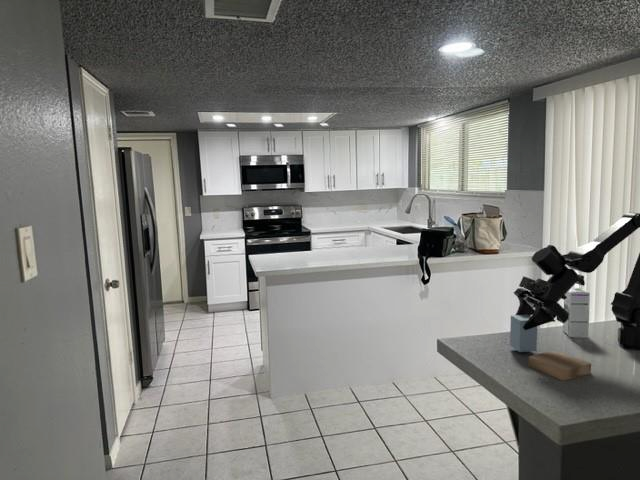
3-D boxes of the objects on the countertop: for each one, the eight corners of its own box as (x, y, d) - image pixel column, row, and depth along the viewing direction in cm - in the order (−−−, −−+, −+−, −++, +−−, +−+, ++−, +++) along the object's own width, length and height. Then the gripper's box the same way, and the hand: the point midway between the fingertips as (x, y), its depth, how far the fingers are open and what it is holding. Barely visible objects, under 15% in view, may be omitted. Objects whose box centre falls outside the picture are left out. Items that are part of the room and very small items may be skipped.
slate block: (526, 344, 127) (527, 314, 126) (536, 350, 122) (537, 319, 121) (510, 345, 127) (510, 315, 126) (519, 352, 122) (520, 320, 121)
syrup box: (589, 338, 134) (591, 292, 133) (568, 337, 136) (570, 291, 134) (581, 332, 140) (584, 287, 138) (561, 331, 141) (563, 287, 139)
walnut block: (555, 360, 119) (556, 350, 119) (590, 374, 110) (591, 363, 109) (528, 367, 115) (528, 356, 115) (562, 382, 106) (562, 370, 106)
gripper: (520, 261, 131) (484, 299, 132) (559, 273, 113) (517, 317, 113) (544, 285, 133) (509, 323, 133) (587, 301, 114) (545, 344, 115)
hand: (519, 325), depth 124 cm, fingers closed on slate block, 5 cm apart
